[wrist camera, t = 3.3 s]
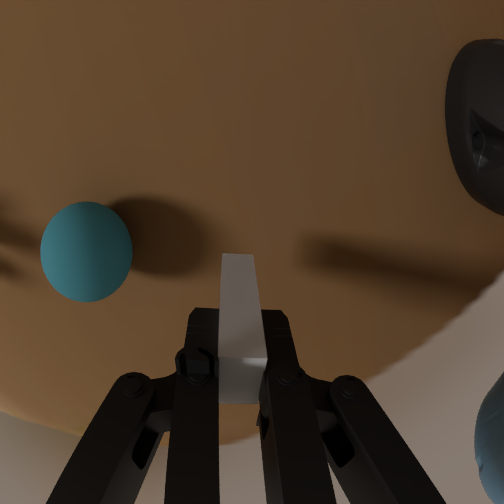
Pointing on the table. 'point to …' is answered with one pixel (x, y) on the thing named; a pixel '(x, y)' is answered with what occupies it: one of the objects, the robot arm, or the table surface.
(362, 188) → the table surface
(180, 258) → the table surface
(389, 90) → the table surface
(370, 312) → the table surface
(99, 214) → the ball
